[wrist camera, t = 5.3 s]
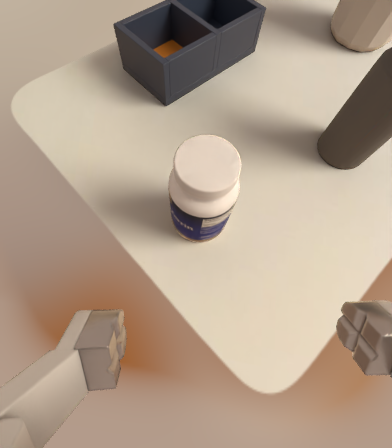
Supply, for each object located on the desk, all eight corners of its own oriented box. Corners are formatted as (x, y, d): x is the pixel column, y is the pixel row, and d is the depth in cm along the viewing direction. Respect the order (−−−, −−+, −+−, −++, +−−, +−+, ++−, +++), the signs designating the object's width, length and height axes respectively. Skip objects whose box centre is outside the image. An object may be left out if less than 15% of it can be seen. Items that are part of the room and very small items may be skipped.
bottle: (346, 178, 29) (501, 42, 15) (307, 147, 30) (415, -3, 16) (372, 152, 30) (533, 8, 16) (334, 124, 32) (452, -30, 18)
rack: (166, 106, 31) (163, 64, 26) (123, 68, 34) (113, 23, 28) (254, 51, 36) (266, 7, 31) (212, 22, 39) (217, -24, 34)
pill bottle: (162, 208, 26) (151, 145, 17) (207, 186, 27) (221, 116, 18) (188, 254, 24) (192, 212, 15) (235, 228, 25) (266, 175, 16)
